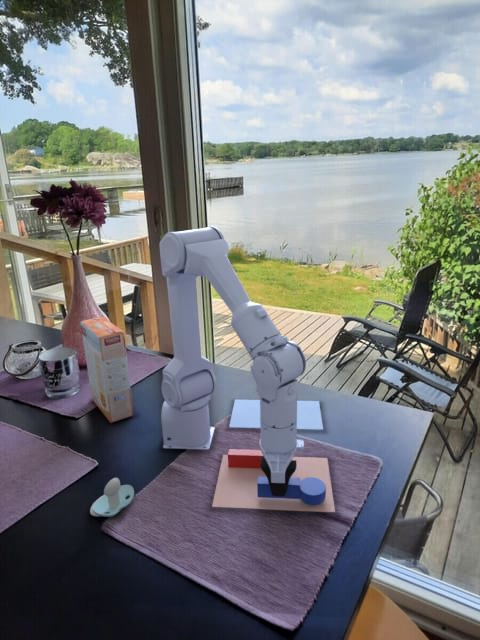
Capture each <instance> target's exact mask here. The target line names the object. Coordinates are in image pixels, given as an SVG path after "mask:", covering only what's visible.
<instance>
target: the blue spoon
mask: <svg viewBox="0 0 480 640" xmlns="http://www.w3.org/2000/svg"><path fill="white" fill-rule="evenodd" d="M257 494H258V497H262V498H285V499H301V501H302V502H304V503H306V504H308V505H319V504H321V503H323V502H324V500H325V498H326V485H325V483H324V482H323V481H321V480H320V479H318V478H313V477H309V478H305V479H303V480H301V481H300V478H290V480H289V483H288V487H287V491H286V494H285V496H273V495H272V493H271V490H270V486H269V482H268V479H267V477H260V476H258V481H257Z"/></svg>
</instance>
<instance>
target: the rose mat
mask: <svg viewBox="0 0 480 640" xmlns="http://www.w3.org/2000/svg"><path fill="white" fill-rule="evenodd" d="M292 460H296V464H297V467H296V470H295V472H294V473H293V474H292V476H291V478H300V481H301V480H303V479H305V478H309V477H313V478H318V479H320V480H321V481H323V482H324V483H325V485H326V498H325V500H324V502H323V503H321V504H319V505H308V504H306V503H304V502H302V501H301V499H285V498H262V497H258V494H257V481H258V476H260V477H266V475H265V473H264V472H263V471H262V469H260V468H231V467H228V454H222V458H221V462H220V467H219V473H218V477H217V481H216V486H215V491H214V496H213V500H212V505H211V508H224V509H225V508H228V509H229V508H230V509H249V510H251V509H252V510H274V511H295V512H297V511H298V512H317V513H336V508H335V501H334V495H333V488H332V480H331V474H330V466H329V460H328V457H312V456H308V457H307V456H294V457H293V458H292Z"/></svg>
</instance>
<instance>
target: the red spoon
mask: <svg viewBox="0 0 480 640" xmlns="http://www.w3.org/2000/svg"><path fill="white" fill-rule="evenodd" d="M227 455H228V467H231V468H260V469H261V464H260V463H261V457H264V456H263V454H262V452H261V450H260V449H241V448H240V449H237V448H232V449H231V448H228V451H227Z"/></svg>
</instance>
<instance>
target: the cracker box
mask: <svg viewBox="0 0 480 640" xmlns="http://www.w3.org/2000/svg"><path fill="white" fill-rule="evenodd" d="M80 329H81V335H82V343H83V348H84V356H85V362H86V367H87V368H86V369H87V375H88V382H89V389H90V396H91V400H92V401H93V403H94V404H95V405H96V407H97V408H98V409H99V410H100V412H101V413H102V414H103V416H104V417H105V418H106V419H107V420H108V422H109V423H110V424H113V423H115V422H118V421H121V420H125V419H128V418H130V417H133V416H134V406H133V399H132V391H131V383H130V380H131V379H130V372H129V367H128V366H129V364H128V355H127V346H126V338H125V332H124V330H122V329H120V328H119V327H118V326H116V325H115V324H114V323H113V322H111V321H110V320H108V319H107V318H106V317H104V316H98V317H93V318H88V319H83V320H80Z"/></svg>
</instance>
